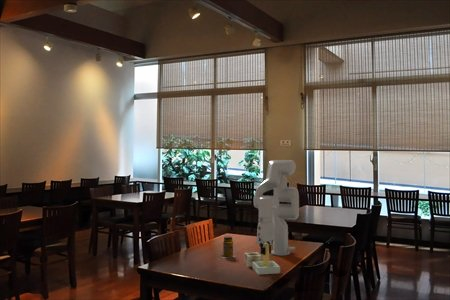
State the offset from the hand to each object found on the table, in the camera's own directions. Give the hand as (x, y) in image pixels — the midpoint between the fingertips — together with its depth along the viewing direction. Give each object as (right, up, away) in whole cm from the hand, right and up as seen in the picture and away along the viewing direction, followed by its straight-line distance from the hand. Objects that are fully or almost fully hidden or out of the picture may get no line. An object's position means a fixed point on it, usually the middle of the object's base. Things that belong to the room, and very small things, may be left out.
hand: (265, 253), depth 216 cm
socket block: (-6, -10, +12) cm, 17 cm away
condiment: (-21, -10, +31) cm, 39 cm away
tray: (0, -9, 0) cm, 9 cm away
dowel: (0, -7, 0) cm, 7 cm away
